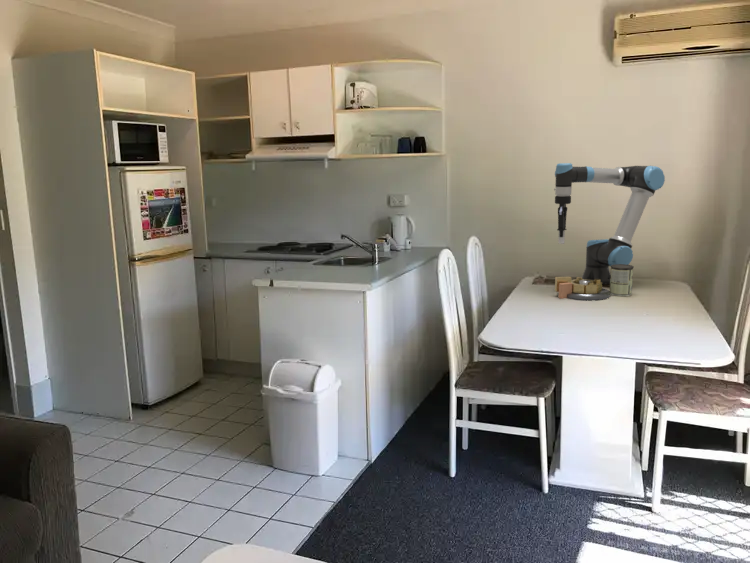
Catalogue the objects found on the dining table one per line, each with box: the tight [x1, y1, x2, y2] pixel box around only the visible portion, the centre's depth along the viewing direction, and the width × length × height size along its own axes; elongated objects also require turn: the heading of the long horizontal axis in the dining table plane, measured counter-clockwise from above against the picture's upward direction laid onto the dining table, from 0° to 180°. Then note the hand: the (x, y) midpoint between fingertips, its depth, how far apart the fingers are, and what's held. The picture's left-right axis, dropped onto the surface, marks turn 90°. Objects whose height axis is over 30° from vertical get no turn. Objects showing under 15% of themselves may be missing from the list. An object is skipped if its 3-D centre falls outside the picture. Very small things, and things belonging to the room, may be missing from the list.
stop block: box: [557, 282, 572, 300], centre depth 299 cm, size 6×2×7 cm, turn 114°
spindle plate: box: [566, 280, 611, 302], centre depth 304 cm, size 24×24×7 cm
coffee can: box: [609, 264, 634, 297], centre depth 304 cm, size 10×10×14 cm
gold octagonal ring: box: [554, 276, 603, 294], centre depth 303 cm, size 22×15×7 cm
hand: (561, 243), depth 307 cm, fingers closed
